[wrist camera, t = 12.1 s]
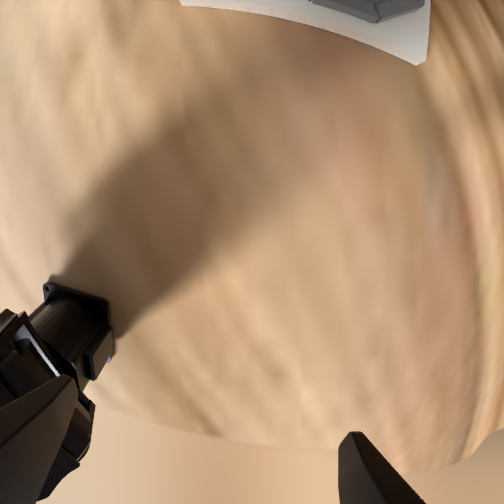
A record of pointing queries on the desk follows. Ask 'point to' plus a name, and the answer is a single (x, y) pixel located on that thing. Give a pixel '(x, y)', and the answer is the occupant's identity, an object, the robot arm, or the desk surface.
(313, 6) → the white square ring base
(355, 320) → the desk surface
